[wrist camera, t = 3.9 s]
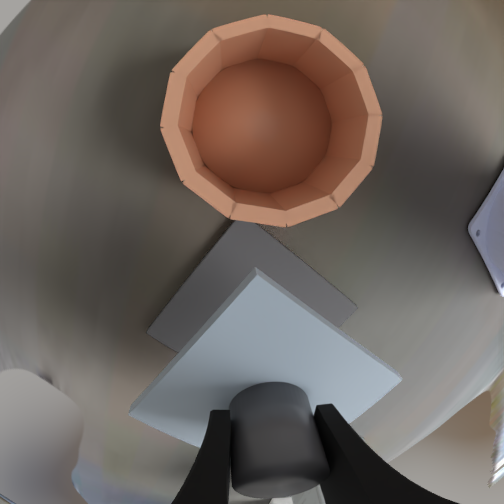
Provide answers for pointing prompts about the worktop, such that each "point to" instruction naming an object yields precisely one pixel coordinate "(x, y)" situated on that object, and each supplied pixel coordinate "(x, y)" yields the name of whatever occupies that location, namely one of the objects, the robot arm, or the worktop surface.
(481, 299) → the worktop surface
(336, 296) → the mat
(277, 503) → the milk
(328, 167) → the bowl
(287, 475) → the lid
